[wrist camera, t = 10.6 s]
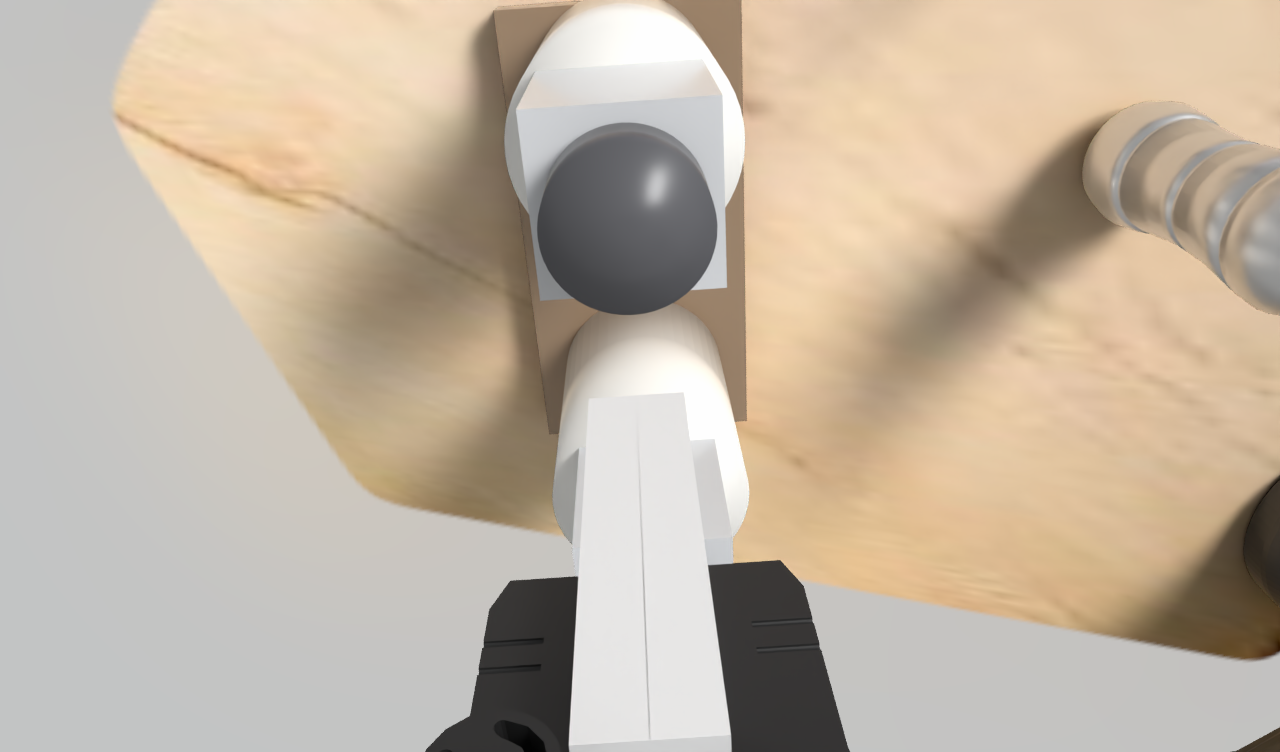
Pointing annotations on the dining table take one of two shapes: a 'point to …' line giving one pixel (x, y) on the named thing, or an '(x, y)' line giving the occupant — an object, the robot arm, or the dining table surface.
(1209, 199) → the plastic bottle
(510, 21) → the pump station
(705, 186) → the plunger
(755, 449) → the dining table surface
